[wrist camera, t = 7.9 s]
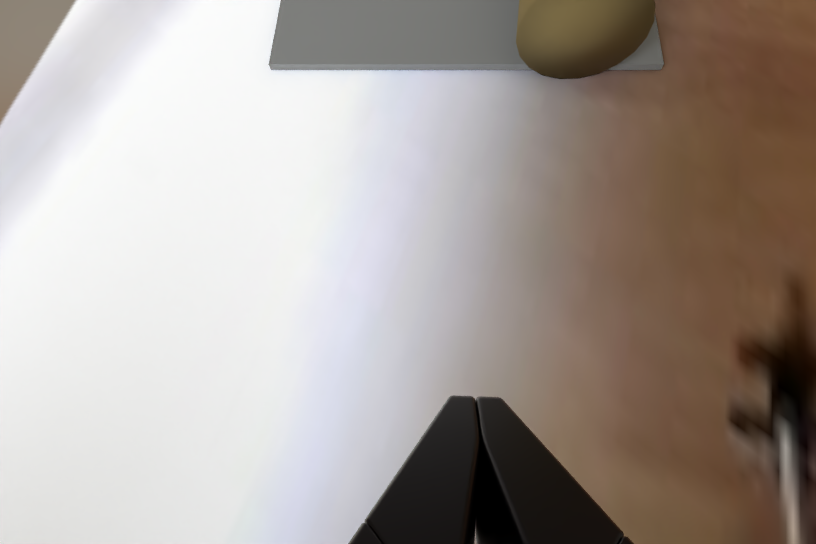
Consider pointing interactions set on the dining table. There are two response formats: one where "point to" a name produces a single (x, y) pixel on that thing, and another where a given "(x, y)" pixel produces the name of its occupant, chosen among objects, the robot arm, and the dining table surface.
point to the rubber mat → (412, 36)
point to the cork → (580, 34)
